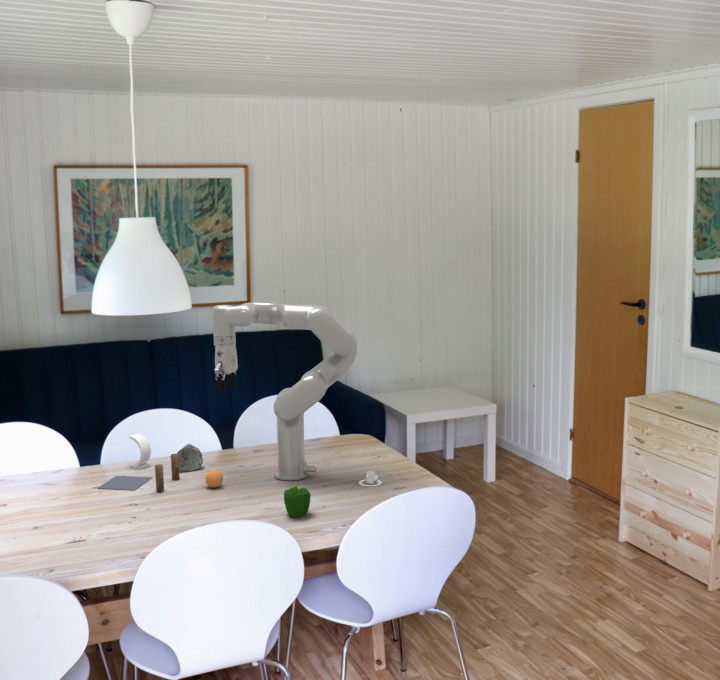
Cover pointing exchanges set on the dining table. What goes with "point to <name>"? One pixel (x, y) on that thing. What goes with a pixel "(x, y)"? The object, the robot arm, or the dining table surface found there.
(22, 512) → the dining table surface
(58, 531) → the dining table surface
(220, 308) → the robot arm
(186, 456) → the stone
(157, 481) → the post left
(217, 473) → the ball
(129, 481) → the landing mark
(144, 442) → the headphone stand
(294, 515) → the bell pepper
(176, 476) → the post right
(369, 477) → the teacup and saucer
